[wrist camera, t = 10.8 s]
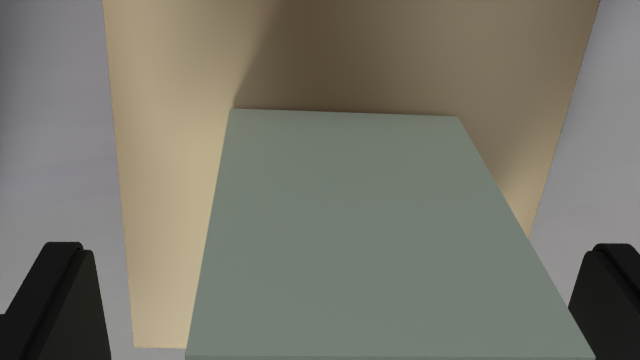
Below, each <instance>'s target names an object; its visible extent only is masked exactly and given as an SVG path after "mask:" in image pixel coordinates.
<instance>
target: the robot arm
mask: <svg viewBox="0 0 640 360" xmlns="http://www.w3.org/2000/svg"><path fill="white" fill-rule="evenodd" d="M568 310H569V311H570V313H571V315H572V316H573V318H574V320H575V322H576V323H577V325H578V327H579V329H580V330H581V332H582V334H583V336H584V337H585V339H586V341H587V343H588V344H589V346H590V348H591V350H592V351H593V353H594V355H595V357H596V359H595V360H640V254H639V253H638V252H637V251H636V250H635V248H634V247H632V246H631V245H630V244H608V243H600V244H597V245H596V246H595V247H594V248H593V250H592V251H588V252H587V253H586V254H585V255H584V258H583V261H582V264H581V267H580V270H579V274H578V277H577V280H576V283H575V286H574V290H573V293H572V296H571V299H570V302H569V306H568ZM0 360H111V352H110V346H109V340H108V334H107V329H106V323H105V317H104V311H103V306H102V300H101V294H100V288H99V283H98V277H97V271H96V265H95V259H94V255H93V252H92V251H91V250H84V249H83V246H82V244H81V243H80V242H47V243H46V244H45V245H44V246H43V248H42V250H41V252H40V253H39V255H38V257H37V259H36V260H35V262H34V264H33V266H32V267H31V269H30V271H29V273H28V274H27V276H26V278H25V280H24V281H23V283H22V285H21V286H20V288H19V290H18V292H17V293H16V295H15V297H14V299H13V300H12V302H11V304H10V306H9V307H8V309H7V311H6V313H5V314H0Z"/></svg>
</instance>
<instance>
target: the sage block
mask: <svg viewBox="0 0 640 360" xmlns="http://www.w3.org/2000/svg"><path fill="white" fill-rule="evenodd" d="M595 359H596V357H595V355H594V353H593V351H592V350H591V348H590V346H589V344H588V343H587V341H586V339H585V337H584V336H583V334H582V332H581V330H580V329H579V327H578V325H577V323H576V322H575V320H574V318H573V316H572V315H571V313H570V311H569V310H568V308H567V306H566V304H565V303H564V301H563V299H562V297H561V296H560V294H559V292H558V290H557V289H556V287H555V285H554V283H553V282H552V280H551V278H550V276H549V275H548V273H547V271H546V269H545V268H544V266H543V264H542V262H541V261H540V259H539V257H538V255H537V254H536V252H535V250H534V248H533V247H532V245H531V243H530V241H529V240H528V238H527V236H526V234H525V233H524V231H523V229H522V227H521V226H520V224H519V222H518V221H517V219H516V217H515V215H514V214H513V212H512V210H511V208H510V207H509V205H508V203H507V201H506V200H505V198H504V196H503V194H502V193H501V191H500V189H499V187H498V186H497V184H496V182H495V180H494V179H493V177H492V175H491V173H490V172H489V170H488V168H487V166H486V165H485V163H484V161H483V159H482V158H481V156H480V154H479V152H478V151H477V149H476V147H475V145H474V144H473V142H472V140H471V139H470V137H469V135H468V133H467V132H466V130H465V128H464V126H463V125H462V123H461V121H460V119H459V118H458V116H433V115H405V114H376V113H348V112H319V111H291V110H262V109H234V108H230V110H229V115H228V121H227V126H226V132H225V137H224V143H223V148H222V154H221V159H220V165H219V170H218V176H217V182H216V187H215V193H214V198H213V204H212V209H211V215H210V220H209V226H208V231H207V237H206V242H205V248H204V253H203V259H202V264H201V270H200V275H199V281H198V286H197V292H196V297H195V303H194V308H193V314H192V319H191V325H190V331H189V336H188V342H187V347H186V353H185V360H595Z"/></svg>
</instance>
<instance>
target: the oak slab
mask: <svg viewBox="0 0 640 360" xmlns="http://www.w3.org/2000/svg"><path fill="white" fill-rule="evenodd" d="M102 2H103V13H104V24H105V35H106V45H107V56H108V67H109V78H110V89H111V100H112V111H113V122H114V133H115V143H116V154H117V165H118V176H119V187H120V198H121V209H122V220H123V231H124V242H125V252H126V263H127V274H128V285H129V296H130V307H131V318H132V329H133V340H134V347H145V348H186V347H187V342H188V336H189V331H190V325H191V319H192V314H193V308H194V303H195V297H196V292H197V286H198V281H199V275H200V270H201V264H202V259H203V253H204V248H205V242H206V237H207V231H208V226H209V220H210V215H211V209H212V204H213V198H214V193H215V187H216V182H217V176H218V170H219V165H220V159H221V154H222V148H223V143H224V137H225V132H226V126H227V121H228V115H229V110H230V108H234V109H262V110H291V111H319V112H348V113H376V114H405V115H433V116H458V118H459V119H460V121H461V123H462V125H463V126H464V128H465V130H466V132H467V133H468V135H469V137H470V139H471V140H472V142H473V144H474V145H475V147H476V149H477V151H478V152H479V154H480V156H481V158H482V159H483V161H484V163H485V165H486V166H487V168H488V170H489V172H490V173H491V175H492V177H493V179H494V180H495V182H496V184H497V186H498V187H499V189H500V191H501V193H502V194H503V196H504V198H505V200H506V201H507V203H508V205H509V207H510V208H511V210H512V212H513V214H514V215H515V217H516V219H517V221H518V222H519V224H520V226H521V227H522V229H523V231H524V233H525V234H526V236H527V238H528V239H529V236H530V233H531V229H532V226H533V223H534V219H535V216H536V213H537V209H538V206H539V203H540V199H541V196H542V193H543V190H544V186H545V183H546V180H547V176H548V173H549V170H550V166H551V163H552V160H553V156H554V153H555V150H556V146H557V143H558V140H559V136H560V133H561V130H562V126H563V123H564V120H565V116H566V113H567V110H568V106H569V103H570V100H571V96H572V93H573V90H574V86H575V83H576V80H577V76H578V73H579V70H580V66H581V63H582V60H583V56H584V53H585V50H586V47H587V43H588V40H589V37H590V33H591V30H592V27H593V23H594V20H595V17H596V13H597V10H598V7H599V3H600V0H102Z"/></svg>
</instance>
